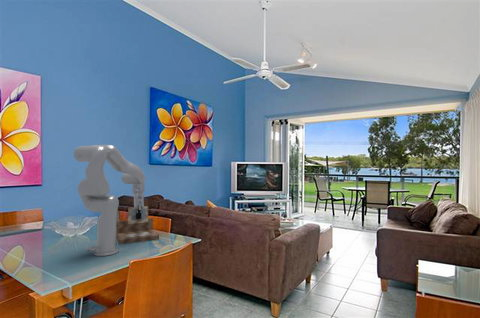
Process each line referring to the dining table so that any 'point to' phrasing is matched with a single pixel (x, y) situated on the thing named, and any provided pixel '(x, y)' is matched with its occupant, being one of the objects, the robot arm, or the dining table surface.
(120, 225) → the walnut ledge
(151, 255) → the dining table surface
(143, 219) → the picture frame
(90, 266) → the dining table surface
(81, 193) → the robot arm
